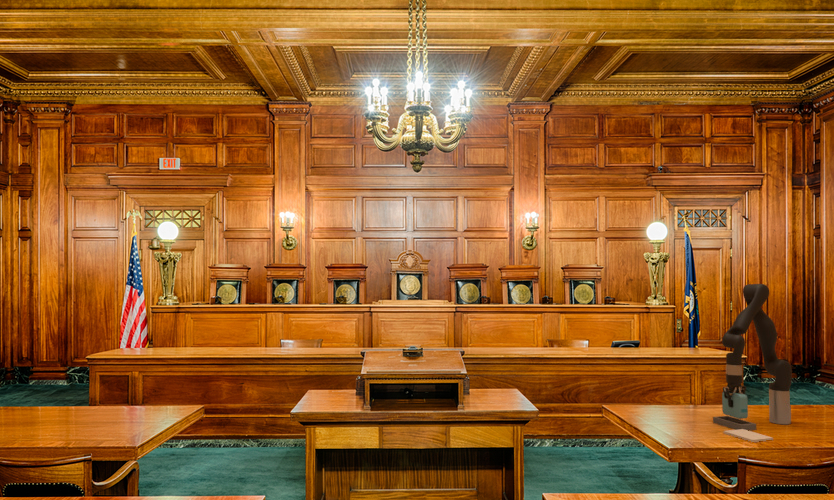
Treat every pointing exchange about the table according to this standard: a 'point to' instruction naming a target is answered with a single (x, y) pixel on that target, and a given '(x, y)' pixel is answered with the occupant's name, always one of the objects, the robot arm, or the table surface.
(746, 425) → the holder box
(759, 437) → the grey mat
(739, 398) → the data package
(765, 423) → the table surface
